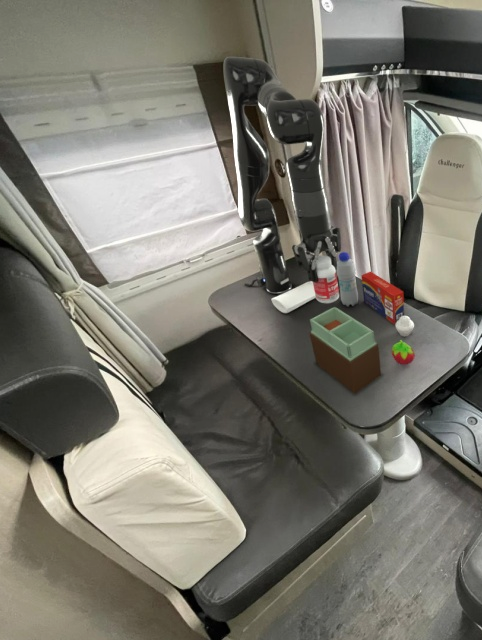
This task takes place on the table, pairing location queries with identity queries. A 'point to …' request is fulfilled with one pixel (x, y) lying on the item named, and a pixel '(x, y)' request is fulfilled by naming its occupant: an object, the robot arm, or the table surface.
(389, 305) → the red cardboard box
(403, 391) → the table surface
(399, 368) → the table surface
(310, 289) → the squeeze bottle
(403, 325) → the muffin
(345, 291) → the bottle
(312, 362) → the table surface
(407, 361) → the strawberry
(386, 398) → the table surface
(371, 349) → the rack
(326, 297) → the pill bottle
